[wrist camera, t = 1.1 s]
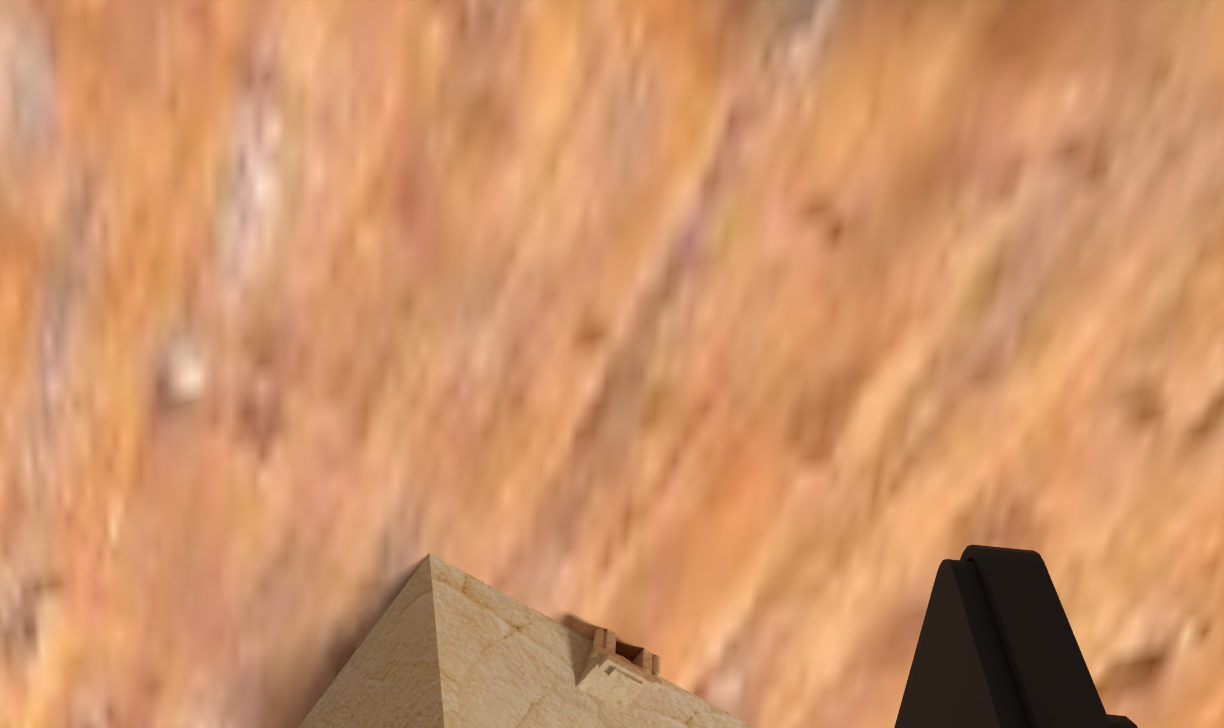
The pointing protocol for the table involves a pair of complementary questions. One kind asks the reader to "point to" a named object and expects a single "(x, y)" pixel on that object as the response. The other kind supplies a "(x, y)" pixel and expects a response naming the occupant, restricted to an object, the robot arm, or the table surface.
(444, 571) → the model pyramid
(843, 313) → the table surface
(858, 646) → the table surface
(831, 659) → the table surface
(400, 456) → the table surface
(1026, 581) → the robot arm
